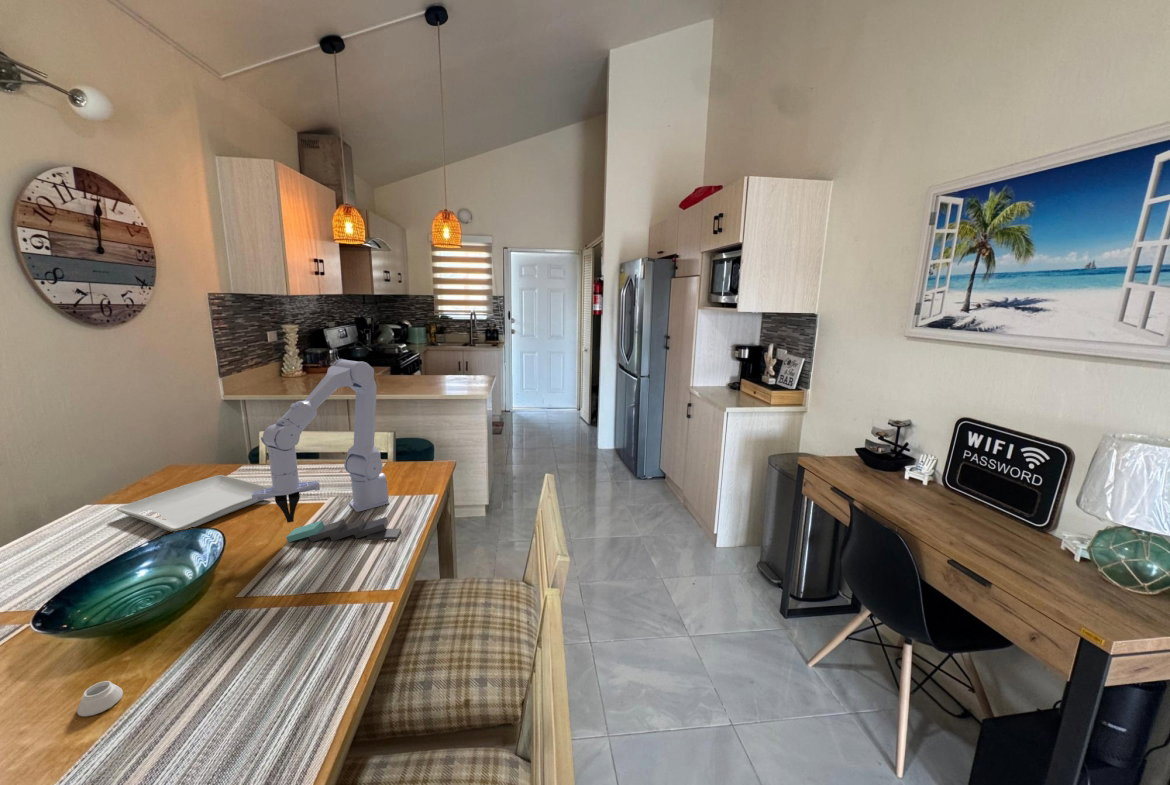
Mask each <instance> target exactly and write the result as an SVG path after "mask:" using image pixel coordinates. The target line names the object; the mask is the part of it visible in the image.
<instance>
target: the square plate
mask: <svg viewBox="0 0 1170 785" xmlns="http://www.w3.org/2000/svg"><path fill="white" fill-rule="evenodd" d="M267 488H270V487H269V486H264V485H261V484H258V483H254V482H251V481H247V480H243V479H240V478H235V477H232V476H226V475H223V474H218V475H214V476H211V477H208V478H204V479H200V480H197V481H193V482H190V483H187V484H183V485H181V486H178V487H173V488H172V489H168V490H165V491H162V492H158V493H155V494H153V495H150V496H147V497H145V498H144V497H143V498H140V499H139V500H136V501H133V502H130V503H128V504H124V505H122V506H119V507H117V508H115V510H116V511H118V512H120V513H122V514H124V515H126V516H128V517H132V518H135V519H138V520H141V521H144V522H146V523H149V524H152V525H154V526H157V527H159V528H161V529H162V530H165V531H168V532H172V531H176V530H179V529H185V528H190V527H194V528H196V527H198V526H201V525H203V524H206V523H208V522H210V521H214V520H215V519H218V518H221V517H223V516H225V515H228V514H231V513H233V512H236V511H239V510H241V509H243V508H246V507H248V506H251V505H253V504H256V503H258V502H261V501H264V499H262V500H258V501H256V502H253V501H252V492H255V491H260V490H263V489H267ZM148 510H150V511H151V510H152V512H157V515H158V513H159V516H160V515H161V517H162V516H163V518H164V517H165V519H166V520H162V519H159V518H154V517H151V516H146V515H142V514H138V513H140V512H143V511H148ZM172 533H173V532H172Z"/></svg>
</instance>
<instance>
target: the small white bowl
mask: <svg viewBox="0 0 1170 785" xmlns="http://www.w3.org/2000/svg"><path fill="white" fill-rule="evenodd" d="M123 695H124V691H123V689H122V688H121V687H120V686H119V685H116V684H115V683H113V682H111V681H109V680H104V681H99V682H97V683H94V684H93V685H91V686H89V687H88V688H86V689H85V691H84V692H83V695H82V697H81V699H80V701H79V703H78V706H77V708H76V713H77V715H78V716H80V717H91V716H95V715H97V714H98V715H99V714H100V713H103V712H105V711H106V710H107V711H108V710H109V709H110V708H112V707H113V706H114V705H115V704H116V705H117V703H118V702H119V701H120V700H121V699H122V698H123Z"/></svg>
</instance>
